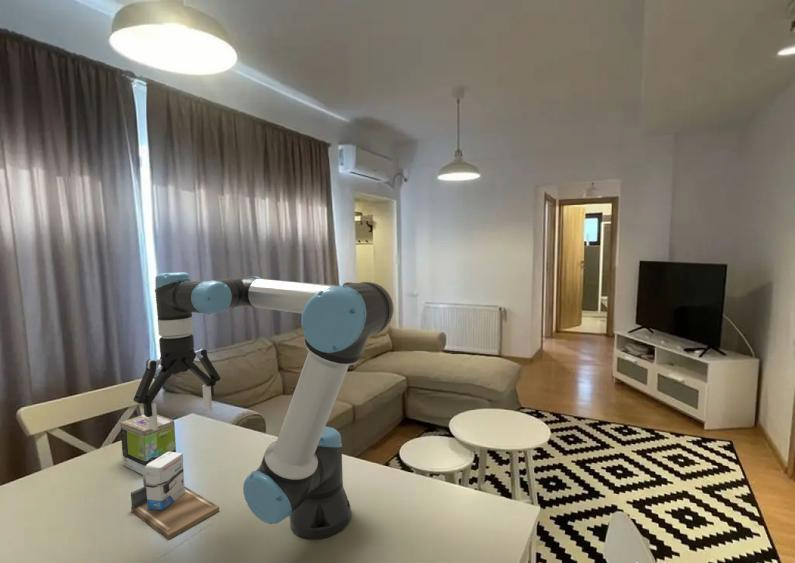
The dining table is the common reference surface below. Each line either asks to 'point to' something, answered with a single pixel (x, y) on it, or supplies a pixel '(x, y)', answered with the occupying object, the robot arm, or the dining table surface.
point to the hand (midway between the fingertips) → (182, 419)
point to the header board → (173, 511)
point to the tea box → (146, 441)
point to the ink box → (164, 480)
